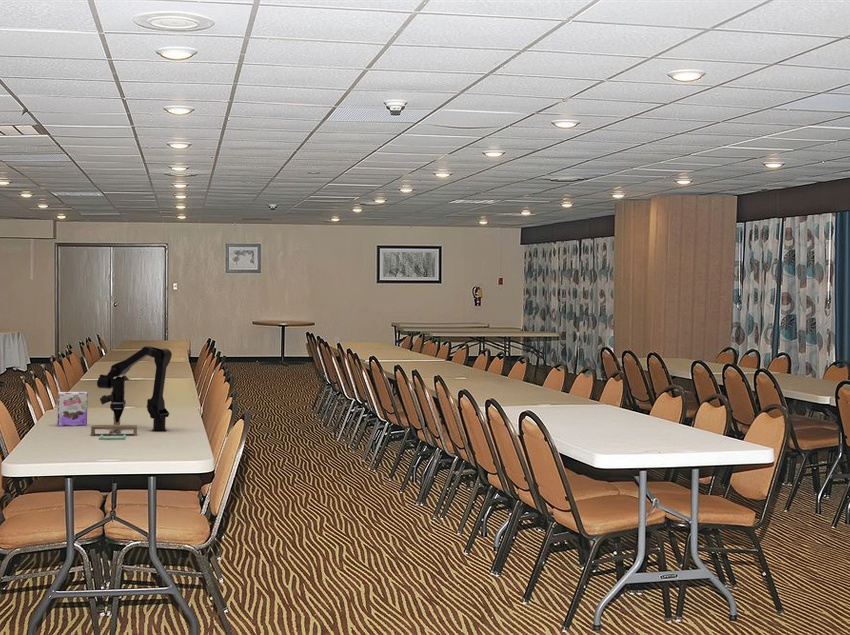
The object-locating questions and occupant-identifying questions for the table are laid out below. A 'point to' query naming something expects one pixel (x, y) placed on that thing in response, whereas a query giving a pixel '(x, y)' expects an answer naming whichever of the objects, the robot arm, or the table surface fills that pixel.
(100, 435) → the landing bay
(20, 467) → the table surface
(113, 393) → the robot arm
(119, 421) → the try square
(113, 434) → the steel puck
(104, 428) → the walnut plinth
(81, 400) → the candy box
